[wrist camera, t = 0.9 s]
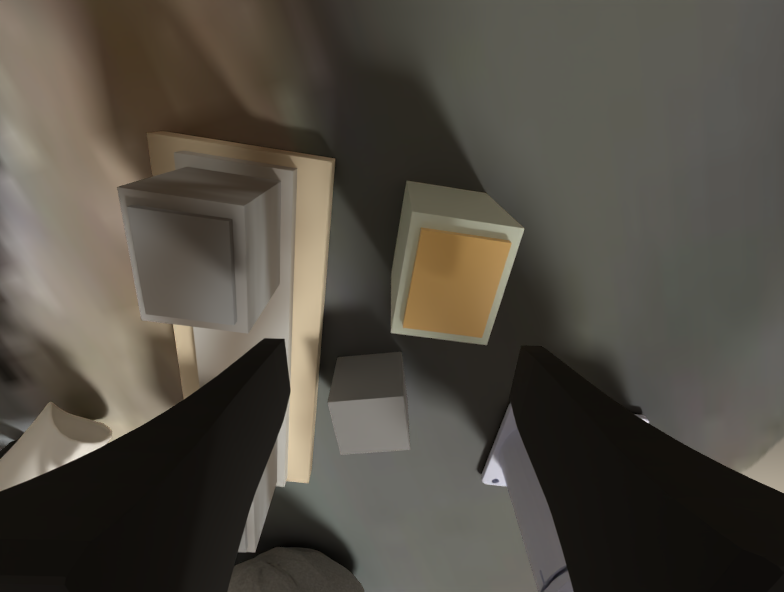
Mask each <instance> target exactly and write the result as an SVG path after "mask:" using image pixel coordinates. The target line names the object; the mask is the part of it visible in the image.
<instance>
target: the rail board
mask: <svg viewBox="0 0 784 592" xmlns="http://www.w3.org/2000/svg"><path fill="white" fill-rule="evenodd" d="M146 135H147V142H148V149H149V156H150V163H151V170H152V177H150V178H146V179H143V180H139V181H136V182H133V183H129V184H126V185H122V186H119V187H117V190H118V195H119V201H120V206H121V212H122V217H123V223H124V228H125V233H126V239H127V244H128V250H129V255H130V260H131V266H132V271H133V277H134V282H135V288H136V293H137V298H138V304H139V309H140V315H141V320H144V321H152V322H160V323H168V324H173V328H174V335H175V342H176V349H177V356H178V363H179V370H180V378H181V385H182V392H183V399H186V398H187V397H188V396H190V395H191V394H192V393H194V392H195V391H197V390H198V389H199V388H201V387H202V386H204V385H205V384H206V383H208V382H209V381H211V380H212V379H213V378H215V377H216V376H217V375H219V374H220V373H221V372H222V371H224V370H225V369H226V368H228V367H229V366H230V365H231V364H233V363H234V362H235V361H236V360H238V359H239V358H240V357H241V356H243V355H244V354H245V353H246V352H248V351H249V350H250V349H251V348H252V347H254V346H255V345H256V344H257V343H259V342H260V341H261V340H263V339H264V338H276V339H285V347H286V355H287V363H288V372H289V380H290V388H291V393H290V397H289V401H288V405H287V409H286V413H285V417H284V421H283V424H282V426H281V429H280V432H279V434H278V437H277V439H276V442H275V445H274V447H273V450H272V452H271V455H270V457H269V460H268V462H267V465H266V467H265V470H264V472H263V475H262V478H261V480H260V483H259V485H258V488H257V490H256V493H255V496H254V499H253V502H252V505H251V507H250V511H249V514H248V518H247V521H246V525H245V528H244V532H243V535H242V539H241V542H240V546H239V550H238V552H244V553H246V552H254V553H255V551H256V548H257V545H258V542H259V538H260V535H261V532H262V529H263V525H264V522H265V519H266V516H267V513H268V509H269V506H270V503H271V500H272V496H273V493H274V490H275V487H276V486H281V487H285V483H286V481H291V482H301V483H309V478H310V474H311V469H312V458H313V445H314V432H315V419H316V406H317V393H318V380H319V367H320V354H321V341H322V328H323V315H324V302H325V289H326V276H327V263H328V250H329V237H330V224H331V211H332V198H333V185H334V172H335V158H329V157H323V156H317V155H310V154H304V153H298V152H291V151H285V150H279V149H273V148H266V147H260V146H254V145H247V144H241V143H235V142H229V141H222V140H216V139H210V138H203V137H197V136H191V135H185V134H178V133H172V132H166V131H156V132H146Z"/></svg>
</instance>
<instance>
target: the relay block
mask: <svg viewBox="0 0 784 592" xmlns="http://www.w3.org/2000/svg"><path fill="white" fill-rule="evenodd" d="M327 403H328V406H329V410H330V414H331V418H332V422H333V426H334V430H335V434H336V438H337V442H338V446H339V450H340V454H341V455H346V454H359V453H372V452H386V451H399V450H410V436H409V415H408V398H407V390H406V382H405V373H404V365H403V357H402V351H401V352H390V353H379V354H367V355H356V356H345V357H337V362H336V366H335V371H334V375H333V380H332V384H331V389H330V393H329V398H328V402H327Z"/></svg>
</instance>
